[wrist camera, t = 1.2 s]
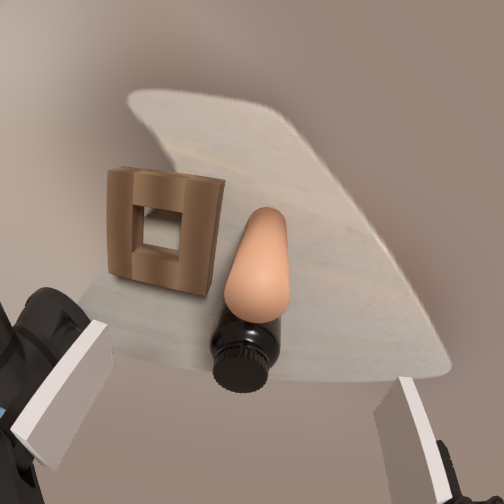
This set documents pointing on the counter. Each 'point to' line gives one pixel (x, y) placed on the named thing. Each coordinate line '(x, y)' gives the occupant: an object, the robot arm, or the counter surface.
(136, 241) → the socket block
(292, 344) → the counter surface
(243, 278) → the dowel
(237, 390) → the supplement bottle
